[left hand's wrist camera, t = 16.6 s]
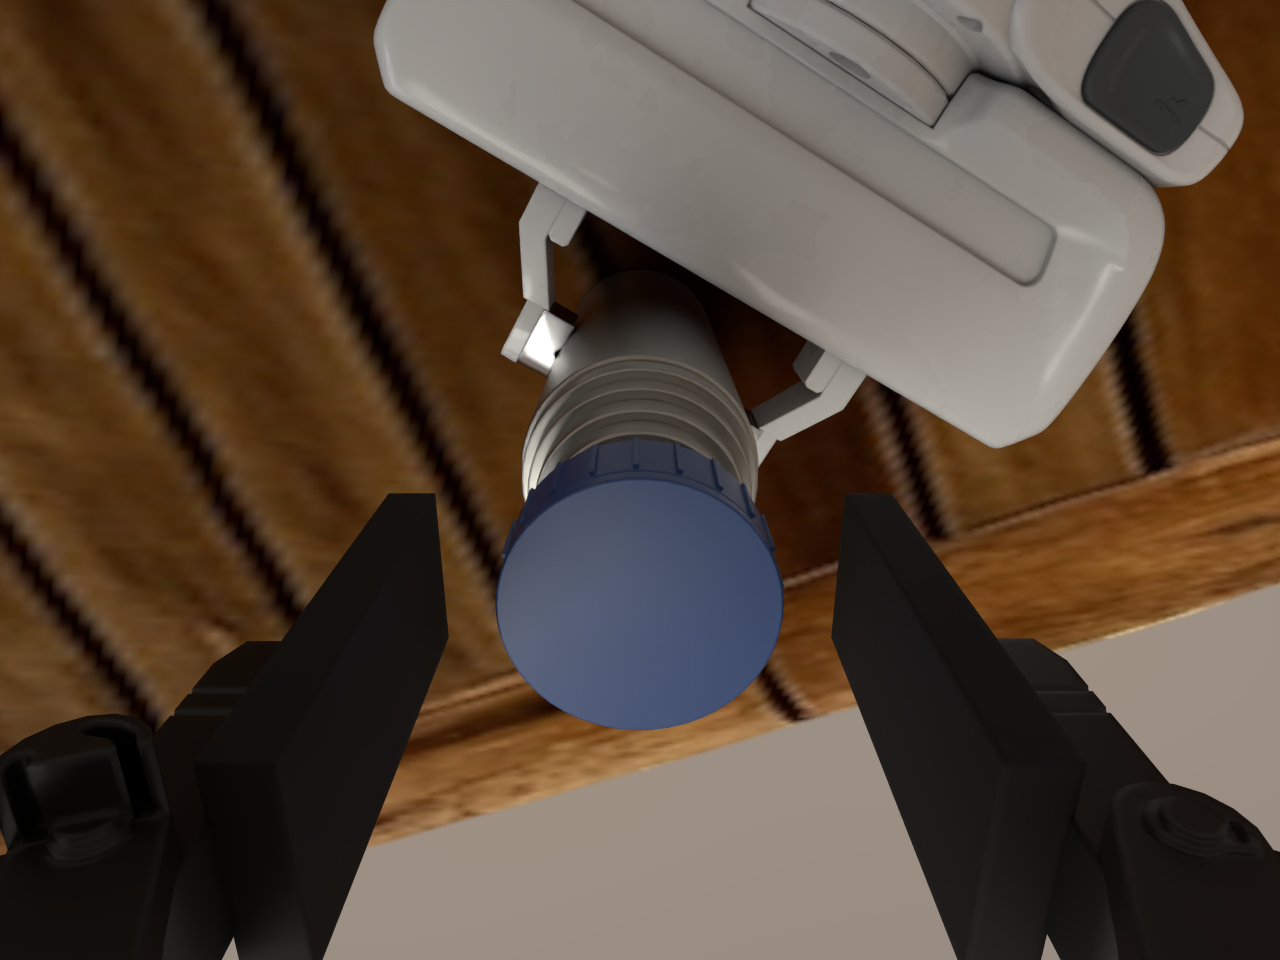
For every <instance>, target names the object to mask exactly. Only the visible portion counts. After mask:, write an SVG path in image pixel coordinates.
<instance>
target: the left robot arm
mask: <svg viewBox="0 0 1280 960" xmlns="http://www.w3.org/2000/svg"><path fill="white" fill-rule="evenodd" d="M448 638H449V636H448V625H447V615H446V604H445V594H444V583H443V573H442V562H441V551H440V541H439V530H438V520H437V509H436V498H435V493H389V494H388V495H387V497H386V498H385V499H384V501H383V502H382V504H381V505H380V506H379V508H378V509H377V510H376V512H375V513H374V515H373V516H372V517H371V519H370V520H369V521H368V523H367V524H366V526H365V527H364V528H363V530H362V531H361V532H360V534H359V535H358V537H357V538H356V539H355V541H354V542H353V543H352V545H351V546H350V548H349V549H348V550H347V552H346V553H345V554H344V556H343V557H342V559H341V560H340V561H339V563H338V564H337V565H336V567H335V568H334V570H333V571H332V572H331V574H330V575H329V576H328V578H327V579H326V581H325V582H324V583H323V585H322V586H321V587H320V589H319V590H318V591H317V593H316V594H315V596H314V597H313V598H312V600H311V601H310V602H309V604H308V605H307V607H306V608H305V609H304V611H303V612H302V613H301V615H300V616H299V618H298V619H297V620H296V622H295V623H294V624H293V626H292V627H291V629H290V630H289V631H288V633H287V634H286V635H285V637H284V638H283V640H282V641H247V642H246V643H244V644H243V645H241V646H239V647H238V648H236V649H235V650H233V651H232V652H230V653H229V654H227V655H226V656H224V657H223V658H221V659H219V660H218V661H216V662H215V663H213V665H212V666H211V667H210V668H209V669H208V671H207V672H206V673H205V674H204V676H203V677H202V678H201V679H200V680H199V682H198V683H197V684H196V685H195V686H194V688H193V689H192V690H193V691H192V694H188V695H187V696H186V697H185V698H184V700H183V701H182V702H181V703H180V705H179V706H178V707H177V708H176V709H175V714H174V716H170V717H169V718H168V719H167V720H166V721H165V723H164V724H163V725H162V726H161V727H160V729H159V730H158V731H157V732H156V734H155V735H154V736H153V734H152V730H151V728H150V727H149V726H148V725H147V724H145V723H144V722H143V721H141V720H140V719H139V718H137V717H131V716H126V715H120V714H106V715H94V716H85V717H82V718H78V719H74V720H71V721H67V722H63V723H60V724H56V725H54V726H51V727H49V728H47V729H45V730H43V731H40V732H38V733H36V734H34V735H32V736H29V737H27V738H25V739H23V740H22V741H20V742H19V743H18V744H16V745H15V746H13V747H12V748H10V749H9V750H8V751H6V752H5V753H3V754H2V755H0V829H1V832H2V835H3V838H4V840H5V843H6V846H7V849H8V850H7V853H6V854H4V855H1V856H0V960H222V958H223V956H224V954H225V952H226V950H227V948H228V946H229V945H230V943H231V941H232V939H233V937H234V940H235V945H236V949H237V953H238V957H239V960H323V957H324V954H325V952H326V949H327V947H328V944H329V942H330V939H331V937H332V934H333V932H334V929H335V926H336V924H337V921H338V919H339V916H340V913H341V911H342V908H343V906H344V903H345V901H346V898H347V896H348V893H349V890H350V888H351V885H352V883H353V880H354V878H355V875H356V873H357V870H358V868H359V865H360V862H361V860H362V857H363V855H364V852H365V850H366V847H367V845H368V842H369V840H370V837H371V834H372V832H373V829H374V827H375V824H376V822H377V819H378V817H379V814H380V811H381V809H382V806H383V804H384V801H385V799H386V796H387V794H388V791H389V788H390V786H391V783H392V781H393V778H394V776H395V773H396V771H397V768H398V765H399V763H400V760H401V758H402V755H403V753H404V750H405V748H406V745H407V742H408V740H409V737H410V735H411V732H412V730H413V727H414V725H415V722H416V719H417V717H418V714H419V712H420V709H421V707H422V704H423V702H424V699H425V696H426V694H427V691H428V689H429V686H430V684H431V681H432V679H433V676H434V673H435V671H436V668H437V666H438V663H439V661H440V658H441V656H442V653H443V650H444V648H445V645H446V643H447V640H448ZM831 638H832V640H833V643H834V645H835V648H836V650H837V653H838V656H839V658H840V661H841V663H842V666H843V668H844V671H845V673H846V676H847V679H848V681H849V684H850V686H851V689H852V691H853V694H854V696H855V699H856V702H857V704H858V707H859V709H860V712H861V714H862V717H863V719H864V722H865V725H866V727H867V730H868V732H869V735H870V737H871V740H872V742H873V745H874V748H875V750H876V753H877V755H878V758H879V760H880V763H881V765H882V768H883V770H884V773H885V776H886V778H887V781H888V783H889V786H890V788H891V791H892V793H893V796H894V799H895V801H896V804H897V806H898V809H899V811H900V814H901V816H902V819H903V822H904V824H905V827H906V829H907V832H908V834H909V837H910V839H911V842H912V845H913V847H914V850H915V852H916V855H917V857H918V860H919V862H920V865H921V868H922V870H923V873H924V875H925V878H926V880H927V883H928V886H929V888H930V891H931V893H932V896H933V898H934V901H935V903H936V906H937V908H938V911H939V914H940V916H941V919H942V921H943V924H944V926H945V929H946V931H947V934H948V937H949V939H950V942H951V944H952V947H953V949H954V952H955V954H956V957H957V960H1041V957H1042V953H1043V949H1044V945H1045V940H1046V936H1047V934H1048V936H1049V938H1050V940H1051V942H1052V944H1053V946H1054V948H1055V950H1056V952H1057V954H1058V956H1059V958H1060V959H1061V960H1280V852H1279V851H1275V850H1273V849H1272V847H1271V846H1270V845H1269V843H1268V842H1267V840H1266V839H1265V838H1264V836H1263V835H1262V833H1261V832H1260V831H1259V829H1258V828H1257V827H1256V826H1255V825H1253V824H1252V823H1251V822H1250V821H1248V820H1247V819H1246V818H1245V817H1243V816H1242V815H1241V814H1240V813H1238V812H1237V811H1236V810H1235V809H1233V808H1231V807H1229V806H1227V805H1226V804H1224V803H1222V802H1220V801H1218V800H1216V799H1214V798H1212V797H1210V796H1208V795H1206V794H1204V793H1201V792H1198V791H1195V790H1192V789H1188V788H1185V787H1182V786H1179V785H1175V784H1169V782H1168V781H1167V780H1166V779H1165V778H1164V776H1163V775H1162V774H1161V773H1160V772H1159V770H1158V769H1157V768H1156V767H1155V766H1154V764H1153V763H1152V762H1151V761H1150V760H1149V758H1148V757H1147V756H1146V755H1145V754H1144V752H1143V751H1142V750H1141V749H1140V748H1139V746H1138V745H1137V744H1136V743H1135V742H1134V740H1133V739H1132V738H1131V737H1130V736H1129V734H1128V733H1127V732H1126V731H1125V730H1124V728H1123V727H1122V726H1121V725H1120V724H1119V722H1118V721H1117V720H1116V719H1115V718H1114V716H1113V715H1112V714H1111V713H1107V712H1106V707H1105V706H1104V704H1103V703H1102V702H1101V701H1100V700H1099V698H1098V697H1097V696H1096V695H1095V694H1094V692H1093V691H1089V690H1088V685H1087V684H1086V683H1085V682H1084V680H1083V679H1082V678H1081V677H1080V676H1079V674H1078V673H1077V672H1076V671H1075V670H1074V668H1073V667H1072V666H1071V665H1070V664H1069V662H1068V661H1067V660H1065V659H1064V658H1062V657H1061V656H1059V655H1058V654H1056V653H1055V652H1053V651H1052V650H1050V649H1048V648H1047V647H1045V646H1044V645H1042V644H1041V643H1039V642H1038V641H1036V640H1034V639H997V638H996V637H995V635H994V634H993V633H992V631H991V630H990V629H989V627H988V626H987V624H986V623H985V622H984V620H983V619H982V618H981V616H980V615H979V613H978V612H977V611H976V609H975V608H974V607H973V605H972V604H971V602H970V601H969V600H968V598H967V597H966V596H965V594H964V593H963V591H962V590H961V589H960V587H959V586H958V585H957V583H956V582H955V581H954V579H953V578H952V576H951V575H950V574H949V572H948V571H947V570H946V568H945V567H944V565H943V564H942V563H941V561H940V560H939V559H938V557H937V556H936V554H935V553H934V552H933V550H932V549H931V548H930V546H929V545H928V543H927V542H926V541H925V539H924V538H923V537H922V535H921V534H920V532H919V531H918V530H917V528H916V527H915V526H914V524H913V523H912V521H911V520H910V519H909V517H908V516H907V515H906V513H905V512H904V510H903V509H902V508H901V506H900V505H899V504H898V502H897V501H896V499H895V498H894V497H893V495H892V494H891V493H845V498H844V509H843V520H842V530H841V541H840V551H839V562H838V573H837V583H836V594H835V604H834V615H833V625H832V636H831Z"/></svg>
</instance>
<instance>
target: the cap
mask: <svg viewBox="0 0 1280 960" xmlns="http://www.w3.org/2000/svg"><path fill="white" fill-rule="evenodd" d="M774 551H776V549H775V546H774V543H773V540H772V537H771V534H770V531H769V528H768V525H767V522H766V519H765V516H764V514H763V515H760V514H759V512H758V509H757V507H756V506H755V504H754V502H753V501H752V499H751V497H750V495H749V493H748V490H747V487H746V485H745V484H744V483H742V484H740V483H739V482H738V481H737V480H736V479H735V478H734V477H733V476H732V475H731V474H730V473H729V472H728V471H727V470H725V469H724V468H723V467H721V466H720V465H718V462H717V460H716V459H715V458H712V459H709V458H707V457H705V456H703V455H702V454H700V453H698V452H695V451H693V450H690V449H687V448H685V447H682V446H680V443H677V442H675V444H670V443H666V442H659V441H650V440H639V438H633V440H628V441H621V442H614V443H609V444H605V445H601V446H598V444H595V445H593V447H592V449H589V450H587V451H584V452H582V453H579V454H577V455H576V456H574V457H572V458H570V459H569V460H567V461H565V462H563V463H562V462H561V461H560V462H558V463H557V465H556V468H555V469H554V470H553V471H552V472H550V473H549V474H548V475H547V476H546V477H545V478H544V479H543V480H542V481H541V482H540V483H539V484H538V485H537V487H536V488H535V489H533V488H531V489H530V490H529V493H528V496H527V499H526V502H525V505H524V506H523V508H522V510H521V512H520V515H519V517H518V520H517V521H515V520H513V523H512V526H511V529H510V531H509V534H508V537H507V540H506V543H505V546H504V549H503V552H502V555H501V557H503V558H505V559H504V562H503V565H502V568H501V571H500V575H499V579H498V584H497V588H496V615H497V623H498V627H499V632H500V636H501V639H502V641H503V644H504V646H505V649H506V651H507V654H508V655H509V657H510V659H511V661H512V662H513V664H514V666H515V668H516V669H517V670H518V672H519V673H520V674H521V675H522V677H523V678H524V679H525V681H526V682H527V683H528V684H529V685H530V686H531V687H532V688H533V689H534V690H535V691H536V692H537V693H538V694H540V695H541V696H542V697H543V698H545V699H546V700H547V701H549V702H550V703H551V704H553V705H555V706H556V707H558V708H560V709H561V710H563V711H564V712H566V713H568V714H571V715H573V716H575V717H577V718H579V719H582V720H585V721H588V722H591V723H594V724H597V725H601V726H606V727H611V728H616V729H627V730H654V729H662V728H669V727H673V726H678V725H682V724H686V723H689V722H691V721H694V720H697V719H700V718H702V717H704V716H707V715H709V714H711V713H713V712H715V711H717V710H718V709H720V708H722V707H723V706H725V705H726V704H728V703H729V702H731V701H732V700H733V699H735V698H736V697H737V696H738V695H739V694H741V693H742V692H743V691H744V690H745V689H746V688H747V687H748V686H749V685H750V684H751V683H752V682H753V681H754V680H755V679H756V677H757V676H758V675H759V673H760V672H761V670H762V669H763V668H764V666H765V665H766V663H767V661H768V659H769V657H770V656H771V654H772V652H773V650H774V648H775V645H776V642H777V639H778V636H779V634H780V629H781V624H782V619H783V604H784V599H783V588H784V584H783V581H782V578H781V575H780V572H779V569H778V566H777V563H776V560H775V557H774V554H773V552H774Z"/></svg>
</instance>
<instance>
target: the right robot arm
mask: <svg viewBox="0 0 1280 960" xmlns="http://www.w3.org/2000/svg"><path fill="white" fill-rule="evenodd" d="M374 48H375V52H376V56H377V61H378V65H379V69H380V73H381V76H382V80H383V83H384V87H385V88H386V90H387V91H388V92H389V93H390V94H391V95H392V96H394V97H395V98H397V99H399V100H400V101H402V102H404V103H405V104H407V105H409V106H410V107H412V108H414V109H416V110H417V111H419V112H421V113H422V114H424V115H426V116H427V117H429V118H431V119H433V120H434V121H436V122H438V123H439V124H441V125H443V126H444V127H446V128H448V129H450V130H451V131H453V132H455V133H456V134H458V135H460V136H461V137H463V138H465V139H467V140H468V141H470V142H472V143H473V144H475V145H477V146H478V147H480V148H482V149H484V150H485V151H487V152H489V153H490V154H492V155H494V156H496V157H497V158H499V159H501V160H502V161H504V162H506V163H507V164H509V165H511V166H513V167H514V168H516V169H518V170H519V171H521V172H523V173H524V174H526V175H528V176H530V177H531V178H533V179H535V180H536V181H538V182H539V183H538V185H537V187H536V189H535V191H534V193H533V195H532V197H531V199H530V201H529V203H528V205H527V207H526V210H525V212H524V214H523V216H522V218H521V220H520V222H519V231H520V248H521V264H522V281H523V297H524V298H525V299H527V302H526V304H525V306H524V308H523V310H522V312H521V314H520V316H519V317H518V319H517V321H516V323H515V325H514V327H513V329H512V331H511V333H510V335H509V337H508V339H507V341H506V343H505V345H504V347H503V349H502V352H501V354H502V355H504V356H505V357H507V358H509V359H510V360H512V361H514V362H517V363H519V364H521V365H523V366H524V367H526V368H528V369H530V370H532V371H534V372H536V373H538V374H540V375H542V376H544V377H545V378H547V377H548V375H549V373H550V371H551V369H552V367H553V364H554V362H555V360H556V357H557V355H558V352H559V350H560V349H562V347H563V346H564V345H565V343H566V342H567V340H568V338H569V336H570V334H571V332H572V331H573V329H574V327H575V324H576V321H577V319H578V316H579V315H577V314H575V313H574V312H572V311H570V310H569V309H567V308H565V307H563V306H562V305H560V304H558V303H557V302H555V280H554V245H553V242H555V243H557V244H559V245H561V246H562V247H563V246H566V245H568V244H569V243H570V242H571V240H572V239H573V238H574V236H575V234H576V232H577V231H578V229H579V227H580V225H581V223H582V221H583V219H584V217H585V216H586V214H587V212H588V211H589V212H591V213H593V214H594V215H596V216H598V217H599V218H601V219H603V220H604V221H606V222H608V223H610V224H611V225H613V226H615V227H616V228H618V229H620V230H621V231H623V232H625V233H627V234H628V235H630V236H632V237H633V238H635V239H637V240H638V241H640V242H642V243H644V244H645V245H647V246H649V247H650V248H652V249H654V250H655V251H657V252H659V253H661V254H662V255H664V256H666V257H667V258H669V259H671V260H672V261H674V262H676V263H678V264H679V265H681V266H683V267H684V268H686V269H688V270H690V271H691V272H693V273H695V274H696V275H698V276H700V277H701V278H703V279H705V280H707V281H708V282H710V283H712V284H713V285H715V286H717V287H718V288H720V289H722V290H724V291H725V292H727V293H729V294H730V295H732V296H734V297H735V298H737V299H739V300H741V301H742V302H744V303H746V304H747V305H749V306H751V307H752V308H754V309H756V310H758V311H759V312H761V313H763V314H764V315H766V316H768V317H769V318H771V319H773V320H775V321H776V322H778V323H780V324H781V325H783V326H785V327H787V328H788V329H790V330H792V331H793V332H795V333H797V334H798V335H800V336H802V337H804V338H805V339H807V340H808V341H807V342H806V344H805V345H804V347H803V349H802V350H801V352H800V353H799V355H798V357H797V358H796V360H795V361H794V363H793V368H794V370H795V372H796V373H797V374H798V376H799V377H800V379H801V380H802V381H800V382H798V383H797V384H795V385H793V386H791V387H790V388H788V389H786V390H785V391H783V392H781V393H779V394H778V395H776V396H774V397H772V398H771V399H769V400H767V401H765V402H764V403H762V404H760V405H759V406H757V407H755V408H753V409H752V410H751V411H752V412H751V411H749V410H747V409H745V408H744V410H745V413H746V415H747V418H748V420H749V423H750V425H751V428H752V430H753V434H754V438H755V441H756V445H757V453H758V467H759V466H760V464H761V463H762V461H763V460H764V458H765V457H766V455H767V454H768V452H769V451H770V449H771V448H772V446H773V445H774V443H775V441H776V440H777V439H778V440H780V441H782V440H784V439H786V438H788V437H790V436H792V435H794V434H796V433H798V432H800V431H802V430H804V429H806V428H808V427H810V426H812V425H814V424H816V423H818V422H820V421H822V420H824V419H825V418H827V417H829V416H831V415H833V414H835V413H837V412H839V411H841V410H843V409H844V407H845V406H846V405H847V403H848V402H849V400H850V399H851V397H852V396H853V394H854V393H855V391H856V390H857V389H858V387H859V386H860V384H861V383H862V381H863V380H864V378H865V377H866V376H867V375H868V376H870V377H872V378H873V379H875V380H877V381H878V382H880V383H882V384H884V385H885V386H887V387H889V388H890V389H892V390H894V391H895V392H897V393H899V394H901V395H902V396H904V397H906V398H907V399H909V400H911V401H912V402H914V403H916V404H918V405H919V406H921V407H923V408H924V409H926V410H928V411H929V412H931V413H933V414H935V415H936V416H938V417H940V418H941V419H943V420H945V421H946V422H948V423H950V424H952V425H953V426H955V427H957V428H958V429H960V430H962V431H964V432H965V433H967V434H969V435H970V436H972V437H974V438H976V439H977V440H979V441H981V442H982V443H984V444H986V445H988V446H989V447H992V448H1001V447H1005V446H1008V445H1011V444H1014V443H1017V442H1019V441H1022V440H1024V439H1027V438H1029V437H1032V436H1034V435H1037V434H1039V433H1040V432H1042V431H1043V430H1045V429H1046V428H1047V427H1048V426H1049V425H1050V424H1051V423H1052V422H1053V421H1054V419H1055V418H1056V417H1057V416H1058V415H1059V413H1060V412H1061V411H1062V410H1063V409H1064V407H1065V406H1066V405H1067V404H1068V402H1069V401H1070V400H1071V398H1072V397H1073V396H1074V394H1075V393H1076V392H1077V390H1078V389H1079V388H1080V386H1081V385H1082V384H1083V382H1084V381H1085V380H1086V378H1087V377H1088V376H1089V374H1090V373H1091V371H1092V370H1093V369H1094V367H1095V366H1096V364H1097V363H1098V361H1099V360H1100V359H1101V357H1102V356H1103V354H1104V353H1105V351H1106V350H1107V348H1108V347H1109V345H1110V344H1111V342H1112V341H1113V339H1114V338H1115V336H1116V335H1117V333H1118V332H1119V330H1120V329H1121V327H1122V326H1123V324H1124V323H1125V321H1126V319H1127V318H1128V316H1129V315H1130V313H1131V311H1132V310H1133V308H1134V307H1135V305H1136V303H1137V302H1138V300H1139V298H1140V297H1141V295H1142V293H1143V292H1144V290H1145V288H1146V286H1147V284H1148V282H1149V281H1150V279H1151V277H1152V275H1153V272H1154V270H1155V268H1156V265H1157V263H1158V260H1159V257H1160V254H1161V250H1162V246H1163V242H1164V233H1165V219H1164V213H1163V209H1162V206H1161V203H1160V201H1159V198H1158V196H1157V194H1156V192H1155V191H1154V189H1153V188H1152V187H1176V186H1187V185H1192V184H1194V183H1196V182H1198V181H1200V180H1201V179H1203V178H1204V177H1206V176H1207V175H1208V174H1209V173H1210V172H1211V171H1212V170H1213V169H1214V168H1215V167H1216V166H1217V165H1218V163H1219V162H1220V161H1221V160H1222V159H1223V157H1224V156H1225V155H1226V154H1227V152H1228V151H1227V150H1230V148H1231V147H1232V145H1233V144H1234V142H1235V141H1236V139H1237V137H1238V135H1239V133H1240V131H1241V129H1242V126H1243V121H1244V113H1243V108H1242V103H1241V101H1240V98H1239V96H1238V94H1237V92H1236V90H1235V88H1234V86H1233V85H1232V83H1231V81H1230V80H1229V78H1228V76H1227V75H1226V73H1225V71H1224V70H1223V68H1222V67H1221V65H1220V63H1219V62H1218V60H1217V59H1216V57H1215V55H1214V54H1213V52H1212V50H1211V49H1210V47H1209V45H1208V44H1207V42H1206V41H1205V39H1204V37H1203V36H1202V34H1201V32H1200V31H1199V29H1198V27H1197V26H1196V24H1195V22H1194V20H1193V19H1192V17H1191V15H1190V14H1189V12H1188V10H1187V8H1186V7H1185V5H1184V3H1183V1H1182V0H387V1H386V3H385V5H384V7H383V10H382V12H381V14H380V17H379V19H378V22H377V25H376V28H375V31H374Z"/></svg>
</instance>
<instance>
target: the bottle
mask: <svg viewBox="0 0 1280 960" xmlns="http://www.w3.org/2000/svg"><path fill="white" fill-rule="evenodd" d="M574 313H575V314H577V315H579V316H578V319H577V321H576V324H575V327H574V329H573V331H572V332H571V334H570V336H569V338H568V340H567V342H566V343H565V345H564V346H563V347H562V349H560V350H559V352H558V355H557V357H556V360H555V362H554V364H553V367H552V369H551V372H550V374H549V377H548V379H547V382H546V384H545V387H544V389H543V392H542V394H541V397H540V399H539V402H538V404H537V407H536V409H535V412H534V414H533V417H532V419H531V422H530V424H529V427H528V430H527V433H526V436H525V439H524V444H523V449H522V459H521V472H522V490H523V497H524V501H525V502H526V499H527V496H528V493H529V490H530V489H531V488H533V489H535V488H536V487H537V485H538V484H539V483H540V482H541V481H542V480H543V479H544V478H545V477H546V476H547V475H548V474H549V473H550V472H552V471H553V470H554V469H555V468H556V465H557V463H558V462H560V461H561V462H562V463H563V462H565V461H567V460H569V459H570V458H572V457H574V456H576V455H577V454H579V453H582V452H584V451H587V450H589V449H592V447H593V445H595V444H598V446H601V445H605V444H609V443H614V442H621V441H628V440H633V438H639V440H650V441H659V442H666V443H670V444H675V442H677V443H680V446H682V447H685V448H687V449H690V450H693V451H695V452H698V453H700V454H702V455H703V456H705V457H707V458H709V459H712V458H715V459H716V460H717V462H718V465H720V466H721V467H723V468H724V469H725V470H727V471H728V472H729V473H730V474H731V475H732V476H733V477H734V478H735V479H736V480H737V481H738V482H739V483H740V484H742V483H744V484H745V485H746V487H747V490H748V493H749V495H750V497H751V499H752V501H753V502H754V504H755V500H756V494H757V487H758V453H757V445H756V441H755V438H754V434H753V430H752V428H751V425H750V423H749V420H748V418H747V415H746V413H745V410H744V408H743V405H742V403H741V400H740V398H739V395H738V393H737V390H736V388H735V385H734V383H733V380H732V378H731V375H730V373H729V370H728V368H727V365H726V363H725V360H724V358H723V355H722V353H721V350H720V348H719V345H718V342H717V340H716V337H715V335H714V332H713V330H712V327H711V325H710V322H709V320H708V317H707V315H706V313H705V310H704V308H703V306H702V305H701V303H700V301H699V300H698V299H697V297H696V296H695V295H694V294H693V292H692V291H691V290H689V289H688V288H687V287H686V286H685V285H684V284H682V283H681V282H680V281H678V280H676V279H675V278H673V277H671V276H669V275H666V274H663V273H661V272H656V271H652V270H629V271H623V272H620V273H617V274H614V275H611V276H609V277H607V278H605V279H604V280H602V281H600V282H599V283H597V284H596V285H595V286H594V287H593V288H591V289H590V290H589V291H588V292H587V294H586V295H585V296H584V297H583V298H582V300H581V301H580V303H579V304H578V306H577V308H576V310H575V312H574Z"/></svg>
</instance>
